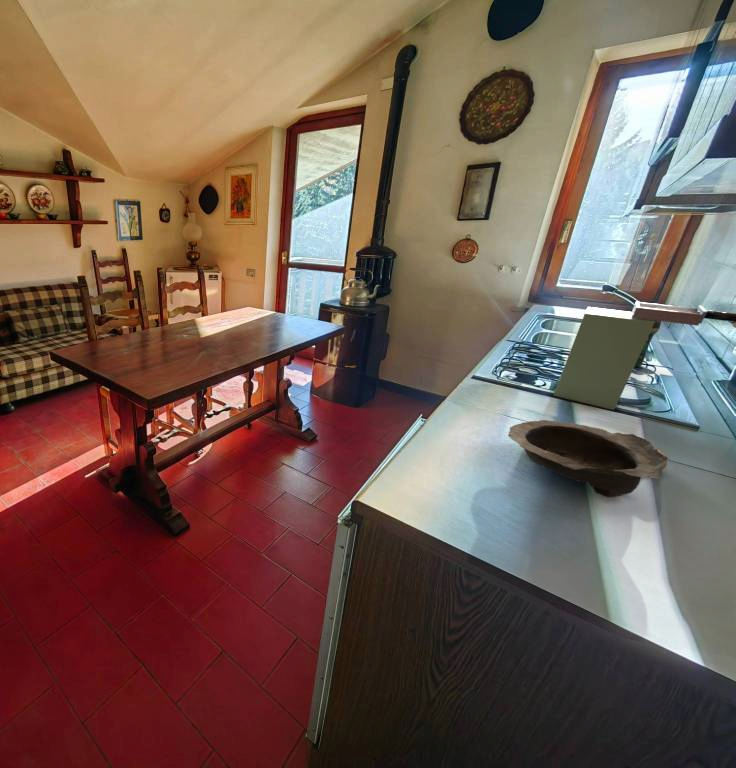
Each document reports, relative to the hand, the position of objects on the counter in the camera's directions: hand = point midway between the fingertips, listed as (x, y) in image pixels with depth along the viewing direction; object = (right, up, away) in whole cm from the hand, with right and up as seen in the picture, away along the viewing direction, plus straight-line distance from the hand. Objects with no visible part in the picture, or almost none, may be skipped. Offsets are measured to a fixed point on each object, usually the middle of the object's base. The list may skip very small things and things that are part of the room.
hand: (732, 319), depth 96 cm
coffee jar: (+26, -8, +52) cm, 59 cm away
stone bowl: (-51, -35, -11) cm, 63 cm away
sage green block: (-15, -20, +24) cm, 34 cm away
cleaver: (-4, 0, +4) cm, 6 cm away
